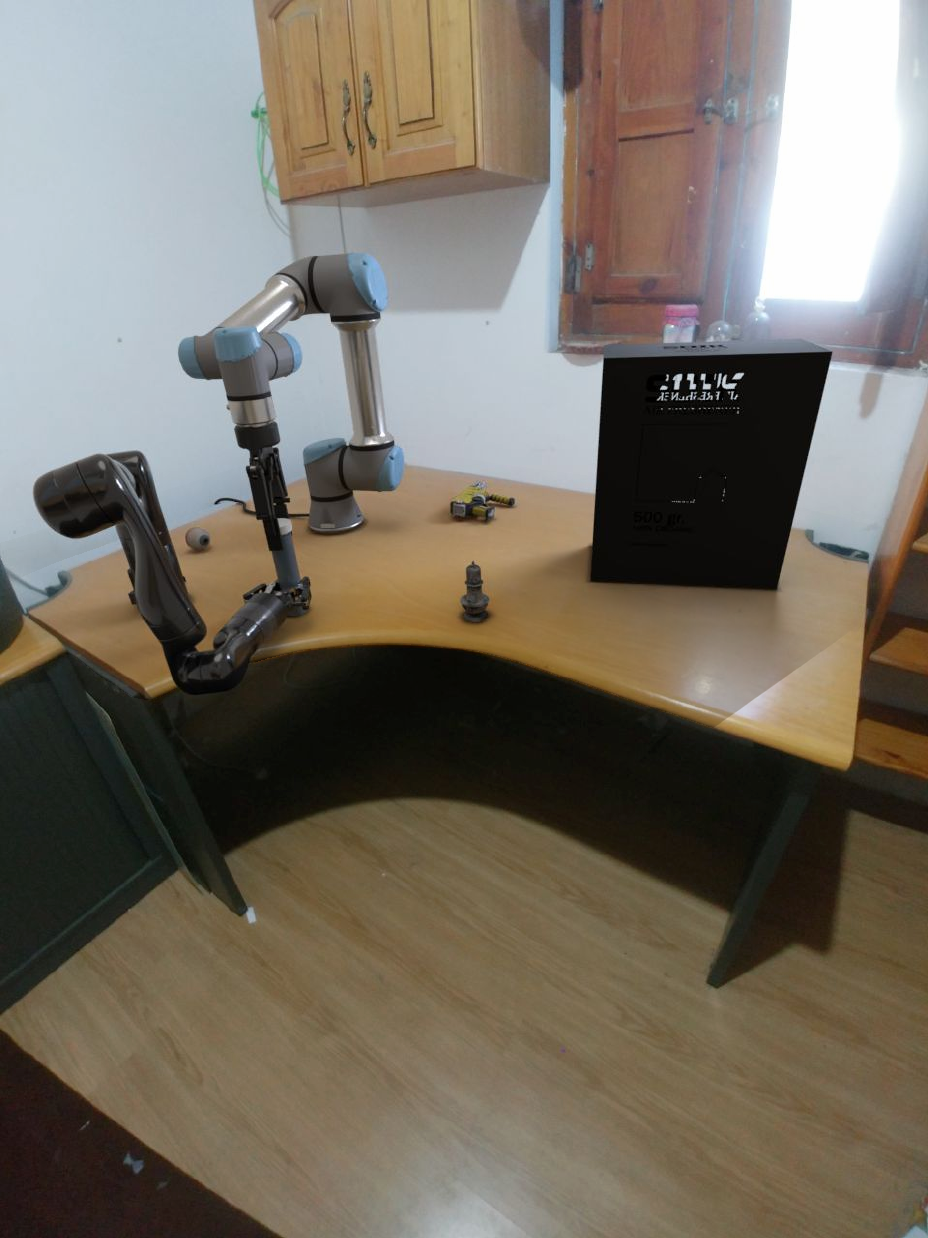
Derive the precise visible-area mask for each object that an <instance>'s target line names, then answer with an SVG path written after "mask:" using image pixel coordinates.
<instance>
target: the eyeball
mask: <svg viewBox="0 0 928 1238" xmlns="http://www.w3.org/2000/svg"><path fill="white" fill-rule="evenodd" d="M184 539H185V543H186V545H187V547H189V548H190V549H192V550H194V551H202V550H205V549H207V548H208V547H209V546H210V543H211V535H210V533H209V532H208V531H207V530H206V529H205V528H203V527H201V526H194V527H192V528H189V529H188V530H187V531H186V533H185V535H184Z"/></svg>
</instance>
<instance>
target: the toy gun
mask: <svg viewBox="0 0 928 1238" xmlns="http://www.w3.org/2000/svg"><path fill="white" fill-rule="evenodd" d="M486 487H487V482H486V481H485V480H483V481H482V482H481V480H477V481H476V482H474V483H473V484H472V485H469V486H468V487H467V488H466V489H465V490H463V491H462V492H461V493H460V494H459V495H457V496H456V497H455V498H454V499H453V500H451V502H450V503H449V504H450V505H449V513H450V515H451V516H454V518H458V519H459V518H460V519H461V518H471V517H474V516H477V517H481V518H485V521H487V522H488V521H490V520H491V519H493V518H494V517H495V511H496V509H495V508H496V507H495V506H494V505H492V504H491V505H490V506H489V505H488V504H487V503H489V502H490V501H491V502H492V503H499V504H502V505H507V506H508V507H513V506H514V505H515V503H516V499H515V498H514V497H511V496H509V497H508V496H506V495H505V496H504V495H501V494H497V493H491V495H490V494H489V492H488V491H487V489H485V488H486Z"/></svg>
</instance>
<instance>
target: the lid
mask: <svg viewBox="0 0 928 1238" xmlns="http://www.w3.org/2000/svg"><path fill="white" fill-rule="evenodd" d="M289 519H290V518H289ZM289 519H286V518H278V522H279V527H280V532H281V535H284V534H287V533H289V532H291V531H292V532H293V526H292V521H291V520H289ZM262 526H263V525H262ZM263 528H264V526H263ZM263 531H264V532H265V530H264V529H263Z"/></svg>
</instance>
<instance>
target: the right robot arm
mask: <svg viewBox="0 0 928 1238" xmlns="http://www.w3.org/2000/svg"><path fill="white" fill-rule="evenodd" d="M388 297H389V296H388V286H387V281H386V278H385V275H384V272H383V269H382V267H381V265H380V263H379V262H378V260H377V259H376V258H375V257H374V256H372V255H371V254H370V253H366V252H365V253H363V252H349V253H339V254H338V253H337V254H327V255H310V256H307V257H303V258H300V259H297V260H296V261H293V262H291V263H290V264H288V265H286V266H284V267H283V268H282V269H280V270H279V271H277V272H276V273H275V274H273V275H272V276H270V277H269V278H268V279H267V281H266V282H265V285H264V289H262V290H261V291H260V292H258V293H257V294H256V295H255V296H254V297H252V298H251V299H249V301H247V302H246V303H245V304H243V305H242V306H241V307H239V308H238V309H237V310H235V311H234V312H233V313H232V314H230V315H229V316H228V317H226V318H225V319H224V320H223V321H221V322H220V323H219V324H218V325H216V326H215V327H214V328H212V329H211V330H209V331H208V332H206V334H204V335H193V336H188V337H187V336H186V337H184V338H183V339H182V340H181V341H180V343H179V344H178V347H177V357H178V361H179V364H180V365H181V368H182V370H183V371H184V373H185V374H186V375H187V376H189V377H190V378H191V379H194V380H206V381H212V380H222V383H223V387H224V391H225V396H226V399H227V404H226V410H227V411H230V417H231V421H232V423H234V425H235V426H234V428H233V431H234V435H235V440H236V444H237V447H239V448H240V449H242V450H247V451H249V458H248V459H249V460H248V462H249V465H246V466H245V472H246V475H247V478H248V482H249V487H250V491H251V496H252V500H253V506H254V510H251V509H248V508H247V503H246V502H245V501H244V500H241V499H237V498H232V497H221V498H218V499H216V500H215V502H214V503H213V505H219V503H221V502H232V503H237V504H241V505H242V510H243V511H244V513H247V514H250V515H255V519H256V521H262V526H264V527H263V531H264V530H265V531H264V535H265V538H266V539H265V540H266V543H267V547H268V551H269V552H271V551H281V550H284V545H283V541H282V536H281V532H280V527H279V522H278V518H286V519H289V520H290V519H291V518H308V521H307V522H308V523H307V524H308V528H309V529H308V530H310V531H311V532H312V533H314V534H317V535H323V536H324V535H325V536H327V535H329V536H331V535H339V534H340V535H341V534H345V533H350V532H353V531H355V530H357V529H359V528H361V527H362V526H363V525H364V523H365V519H364V514H363V512H362V510H361V508H360V505H359V504H358V501H357V500H356V498H355V495H354V492H355V491H357V492H377V493H382V492H393V491H395V490H396V489H398V487H399V486H400V484H401V482H402V479H403V476H404V472H405V471H404V470H405V452H404V450H403V448H402V447H401V446H400V445H398V444H397V445H395V437H394V435H393V434H391V433H390V432H389V431H388V427H387V417H386V409H385V401H384V392H383V381H382V375H381V365H380V364H381V363H380V356H379V355H380V354H379V347H378V337H377V329H376V328H377V326H378V324H379V323H380V322H381V320H382V317H381V313H382V312H384V311H385V310H386V308H387V307H388ZM319 314H322V315H326V314H329V317H330V318H329V319H330V324H331V325H333V326H334V327H335V328H336V329H337V331H338V336H339V341H340V342H339V343H340V348H341V355H342V364H343V370H344V377H345V384H346V391H347V398H348V405H349V412H350V419H351V426H352V431H353V433H352V436H351V437H350V438H349V440H348V441H346V439H345V438H343V437H333V438H327V439H326V438H325V439H323V440H318V441H315V442H313V443H309V444H308V445H306V446H305V447H304V448H303V450H302V457H303V458H302V460H303V467H304V471H305V477H306V481H307V486H308V492H309V498H310V507H309V513H289V510H288V506H287V503H288V504H289V503H290V504H291V497H289V493H288V488H287V485H286V480H285V476H284V472H283V467H282V463H281V459H280V449H279V447H277V445H279V444H280V443H281V434H280V430H279V425H278V423H277V422H276V421H275V420H276V419H277V414H276V409H275V403H274V399H273V396H272V392H271V385H270V382H271V381H273V380H278V379H280V378H281V379H282V378H287V377H289V376H291V375H292V374H294V373H296V372H297V371H298V370H299V369H300V368H301V366H302V363H303V351H302V347H301V345H300V343H299V342H298V340H297V339H296V338H295V337H294V336H293V335H291V334H290V333H288V332H284V331H279V330H280V329H282V328H283V327H284V326H285V325H286V324H288V322H295V321H297V320H299V319H300V318H302V317H303V316H307V315H319ZM347 442H348V444H347ZM290 521H291V520H290ZM293 535H294V534H293V530H292V531H291V536H292V537H293Z"/></svg>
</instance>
